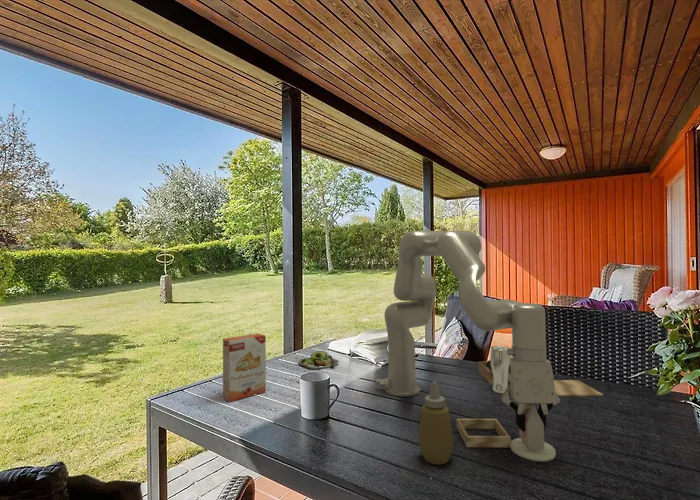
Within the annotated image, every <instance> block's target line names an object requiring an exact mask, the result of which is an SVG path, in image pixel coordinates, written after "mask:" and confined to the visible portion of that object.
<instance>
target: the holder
mask: <svg viewBox="0 0 700 500" xmlns="http://www.w3.org/2000/svg"><path fill="white" fill-rule="evenodd" d="M456 429H457V431H458V432H459V434H460V437H461V439H462V440H463V443H464V444H465V447H466V448H510V444H511V441H512V437H511V435H510V434H509V433H508V431H506V429H505V427H503V425H502V424H501V423H500V421H499V420H498V419H497V418H456ZM466 430H495V431H496V433H497V434H498V435H469V434H468V432H467V431H466Z"/></svg>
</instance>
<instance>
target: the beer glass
mask: <svg viewBox="0 0 700 500" xmlns="http://www.w3.org/2000/svg"><path fill="white" fill-rule="evenodd" d="M507 349H511V347H509V346H504V345H493V346H491V347H490V360H491V367H492V372H493V378H494V384H492V390H493V392H494V393H498V394H503V393H504V392H505V390H506V389H507V376H508V367H509V362H510V358H512V355H507Z"/></svg>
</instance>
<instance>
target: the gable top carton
mask: <svg viewBox="0 0 700 500" xmlns="http://www.w3.org/2000/svg"><path fill="white" fill-rule="evenodd" d="M537 410H538V409H537V407H536V404H524V407H523V414H524V415H525V431H521V430H520V428H519V427H518V432H519V433H518V435H519V438H521V439H522V440H523V442H524V443H525V445H526V447H527V448H528V449H541V450H544V442H545V431H544V424H543V422H542V420H541V418H540V416H539V414H538V412H537Z"/></svg>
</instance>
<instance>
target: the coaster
mask: <svg viewBox="0 0 700 500" xmlns="http://www.w3.org/2000/svg"><path fill="white" fill-rule="evenodd" d="M509 448H510V450H511V452H512V453H514V454H515V455H516V456H518V457H520V458H522V459H525V460H529V461H532V462H550V461H553V460H554V459H555V458H556V455H557V454H556V449H555V448H554V446H552V445H551V444H549V443H547V442H546V441H544V450H541V449H528V448H527V447H526V445H525V443H524V442H523V440H522V439H521V437H517V438H514V439H511V444H510V447H509Z"/></svg>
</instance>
